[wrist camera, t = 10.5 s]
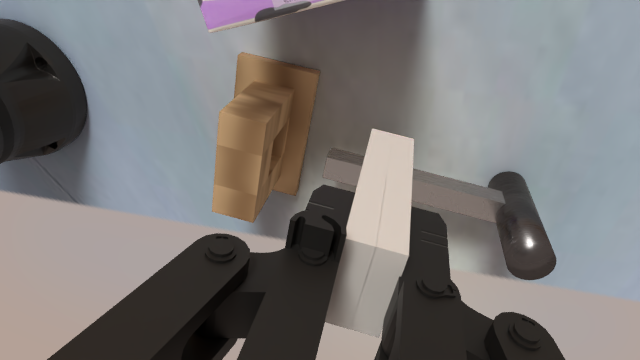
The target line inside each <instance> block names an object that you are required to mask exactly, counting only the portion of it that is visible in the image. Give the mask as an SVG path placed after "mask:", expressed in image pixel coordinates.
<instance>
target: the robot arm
mask: <svg viewBox="0 0 640 360" xmlns="http://www.w3.org/2000/svg"><path fill="white" fill-rule="evenodd" d="M85 119H86V99H85V94H84V90H83V87H82V84H81V81H80V79H79V77H78V75H77V73H76V71H75V69H74V67H73V66H72V64H71V63H70V61H69V60H68V58H67V57H66V56H65V55H64V53H63V52H62V51H61V50H60V49H59V48H58V47H57V46H56V45H55V44H54V43H53V42H52V41H51V40H50V39H49V38H47V37H46V36H45V35H43V34H42V33H40V32H39V31H37V30H36V29H34V28H32V27H30V26H28V25H26V24H23V23H21V22H18V21H14V20H9V19H0V164H1V163H3V162H5V161H11V160H17V159H23V158H29V157H36V156H42V155H47V154H50V153H53V152H55V151H58V150H59V149H61V148H63V147H64V146H66V145H68V144H69V143H71V142H72V141H74V140H75V139H76V138H77V137H78V135H79V134H80V132H81V131H82V129H83V126H84V123H85ZM413 154H414V139H412V138H408V137H405V136H401V135H397V134H393V133H389V132H385V131H381V130H377V129H373V128H372V131H371V135H370V138H369V142H368V146H367V150H366V154H365V157H364V161H363V165H362V169H361V172H360V176H359V180H358V184H357V188H356V191H355V193H353V192H350V191H346V190H342V189H338V188H334V187H331V186H327V185H322V186H321V187H319V188H317V189H316V190H314V191H313V193H312V195H311V198H310V200H309V203H308V205H307V207H306V210H305V211H302V212H299V213H297V214H295V215H294V216H293V217H292V218H291V219H290V224H289V229H288V235H287V240H286V246H285V248H284V249H282V250H279V251H276V252H271V253H252V252H250V249H249V248H248V246H247V244H246V243H245V242H244V241H242V240H241V239H239V238H238V237H235V236H232V235H229V234H211V235H206V236H204V237H202V238H200V239H198V240H197V241H195V242H194V243H193V244H192V245H190V246H189V247H188V248H186V249H185V250H184V251H183V252H182V253H180V254H179V255H178V256H177V257H175V258H174V259H173V260H171V261H170V262H169V263H168V264H166V265H165V266H164V267H163V268H161V269H160V270H159V271H158V272H156V273H155V274H154V275H153V276H151V277H150V278H149V279H148V280H146V281H145V282H144V283H143V284H141V285H140V286H139V287H138V288H136V289H135V290H134V291H133V292H131V293H130V294H129V295H128V296H126V297H125V298H124V299H123V300H121V301H120V302H119V303H118V304H116V305H115V306H114V307H113V308H111V309H110V310H109V311H107V312H106V313H105V314H104V315H103V316H101V317H100V318H99V319H97V320H96V321H95V322H94V323H92V324H91V325H90V326H89V327H87V328H86V329H85V330H84V331H82V332H81V333H80V334H79V335H77V336H76V337H75V338H74V339H72V340H71V341H70V342H69V343H68V344H66V345H65V346H64V347H62V348H61V349H60V350H59V351H57V352H56V353H55V354H54V355H52V356H51V357H50V358H48V359H47V360H222V359H223V357H224V356H225V355H226V354H227V353H228V352H229V350H230V349H231V348H232V347H233V346H234V344H235V343H236V341H237V339H238V338H246V340H245V342H244V345H243V347H242V349H241V351H240V354H239V356H238V358H237V360H315V359H316V355H317V351H318V347H319V343H320V339H321V335H322V331H323V327H324V323H325V322H327V323H330V324H334V325H337V326H340V327H344V328H347V329H351V330H354V331H358V332H361V333H365V334H368V335H372V336H375V337H379V336H380V333H381V330H382V327H383V331H382V341H381V343H380V346H379V349H378V351H377V354H376V357H375V359H374V360H565V358H564V357H563V355H562V353H561V352H560V350H559V348H558V346H557V345H556V343H555V341H554V339H553V338H552V337H551V335H550V334H549V333H548V332H547V330H546V329H545V328H543V327H542V326H541V325H540V324H538V323H537V322H536V321H535V320H533V319H531V318H529V317H527V316H525V315H521V314H518V313H514V312H504V313H501V314H499V315H498V316H496V317H495V319H494V320H492V319H490V318H488V317H486V316H484V315H482V314H480V313H478V312H477V311H475V310H473V309H472V308H470V307H468V306H467V305H466V304H465V303H464V302H462V301H461V296H460V293H459V290H458V288H457V286H456V285H455V284H454V283H453V282H452V280H451V279H450V266H449V253H448V240H447V227H446V224H445V223H444V221H443V220H442V218H441V217H440V215H439V214H437V213H434V212H430V211H426V210H422V209H419V208H415V207H411V198H412V176H413Z"/></svg>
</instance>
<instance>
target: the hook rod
mask: <svg viewBox="0 0 640 360" xmlns="http://www.w3.org/2000/svg"><path fill="white" fill-rule="evenodd" d="M364 157H365V156H362V155H358V154H354V153H351V152H347V151H343V150H339V149H335V148H331V149H330V151H329V154H328V156H327V159H326V164H325V169H324V173H323V178H327V179H330V180H334V181H338V182H342V183H346V184H349V185H353V186H357V184H358V180H359V176H360V172H361V169H362V165H363V161H364ZM411 201H414V202H418V203H422V204H425V205H429V206H433V207H437V208H441V209H444V210H448V211H452V212H456V213H460V214H463V215H467V216H471V217H475V218H479V219H482V220H486V221H490V222H494V223H496V224H497V228H498V232H499V236H500V240H501V244H502V248H503V252H504V256H505V260H506V264H507V268H508V270H509V271H510V272H511V273H512V274H513V275H514V276H516V277H518V278H520V279H524V280H536V279H540V278H543V277H545V276H547V275H548V274H549V273H551V272H552V271H553V269H554V267H555V265H556V256H555V254H554V251H553V249H552V246H551V244H550V241H549V239H548V237H547V234H546V232H545V229H544V227H543V224H542V222H541V219H540V217H539V214H538V212H537V209H536V207H535V204H534V202H533V199H532V197H531V194H530V192H529V189H528V187H527V184H526V182H525V180H524V178H523V177H522V176H521V175H519V174H517V173H515V172H502V173H499V174H497V175H496V176H494V177H493V178H492V179H491V181H490V182H489V185H488V188H487V187H483V186H479V185H475V184H471V183H467V182H463V181H459V180H456V179H452V178H448V177H444V176H440V175H436V174H432V173H428V172H424V171H421V170H417V169H413V176H412V198H411Z"/></svg>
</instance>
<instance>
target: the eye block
mask: <svg viewBox="0 0 640 360" xmlns="http://www.w3.org/2000/svg"><path fill="white" fill-rule="evenodd" d="M319 74H320V71H318V70H313V69H309V68H305V67H301V66H297V65H293V64H289V63H285V62H281V61H277V60H272V59H268V58H264V57H260V56H256V55H252V54H248V53H244V52H242V53H240V54H239V55H238V60H237V71H236V82H235V93H234V99H233V100H232V101H231V102H230V103H229V104H228V105H226V106H225V107H224V108H223V109H222V110H221V111H220V112H219V123H218V136H217V150H216V163H215V177H214V190H213V204H212V212H216V213H219V214H223V215H227V216H230V217H234V218H238V219H241V220H245V221H249V222H252V223H253V222H254V221H255V219H256V217H257V215H258V214H259V212H260V210H261V208H262V207H263V205H264V203H265V202H266V200H267V198H268V196H269V195H270V193H271V191H272V190H275V191H279V192H283V193H286V194H290V195H294V196H295V195H296V193H297V191H298V187H299V181H300V176H301V171H302V165H303V160H304V155H305V149H306V144H307V139H308V133H309V128H310V123H311V117H312V112H313V106H314V101H315V96H316V90H317V85H318V80H319Z"/></svg>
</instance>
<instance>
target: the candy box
mask: <svg viewBox="0 0 640 360" xmlns="http://www.w3.org/2000/svg"><path fill="white" fill-rule="evenodd" d="M340 1H344V0H198V2H199V5H200V8H201V11H202V14H203V16H204V19H205V22H206V25H207V28H208V31H209V33H211V32H217V31H222V30H226V29H230V28H235V27H239V26H243V25H247V24H252V23H256V22H260V21H264V20H268V19H273V18H277V17H281V16H285V15H289V14H293V13H297V12H301V11H305V10H309V9H313V8H317V7H321V6H325V5H329V4H333V3H336V2H340Z"/></svg>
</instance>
